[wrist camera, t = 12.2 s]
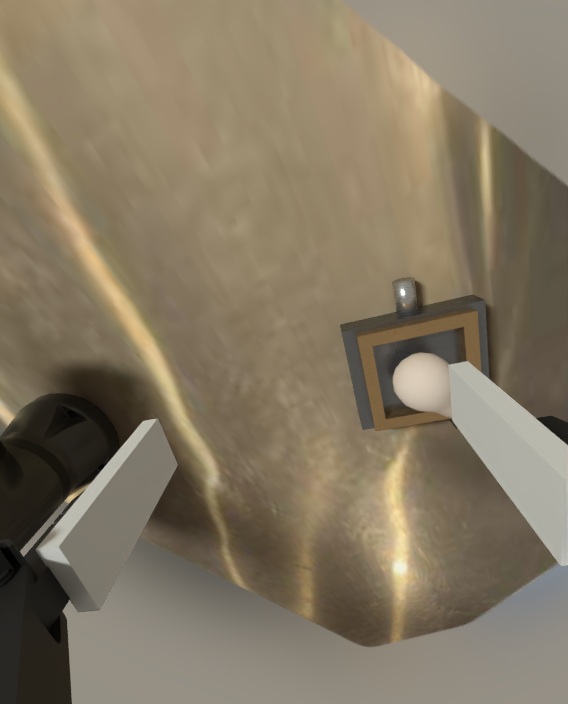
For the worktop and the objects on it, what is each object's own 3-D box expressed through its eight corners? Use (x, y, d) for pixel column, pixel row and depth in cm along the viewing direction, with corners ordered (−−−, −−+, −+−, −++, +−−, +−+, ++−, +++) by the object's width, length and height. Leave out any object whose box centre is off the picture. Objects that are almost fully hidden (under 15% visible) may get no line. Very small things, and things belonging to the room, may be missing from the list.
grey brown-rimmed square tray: (363, 434, 47) (368, 455, 43) (333, 294, 40) (336, 302, 36) (480, 414, 45) (498, 434, 41) (470, 261, 38) (490, 265, 34)
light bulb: (507, 420, 34) (437, 362, 32) (454, 453, 37) (386, 402, 34) (480, 383, 40) (418, 331, 37) (435, 414, 43) (375, 368, 40)
